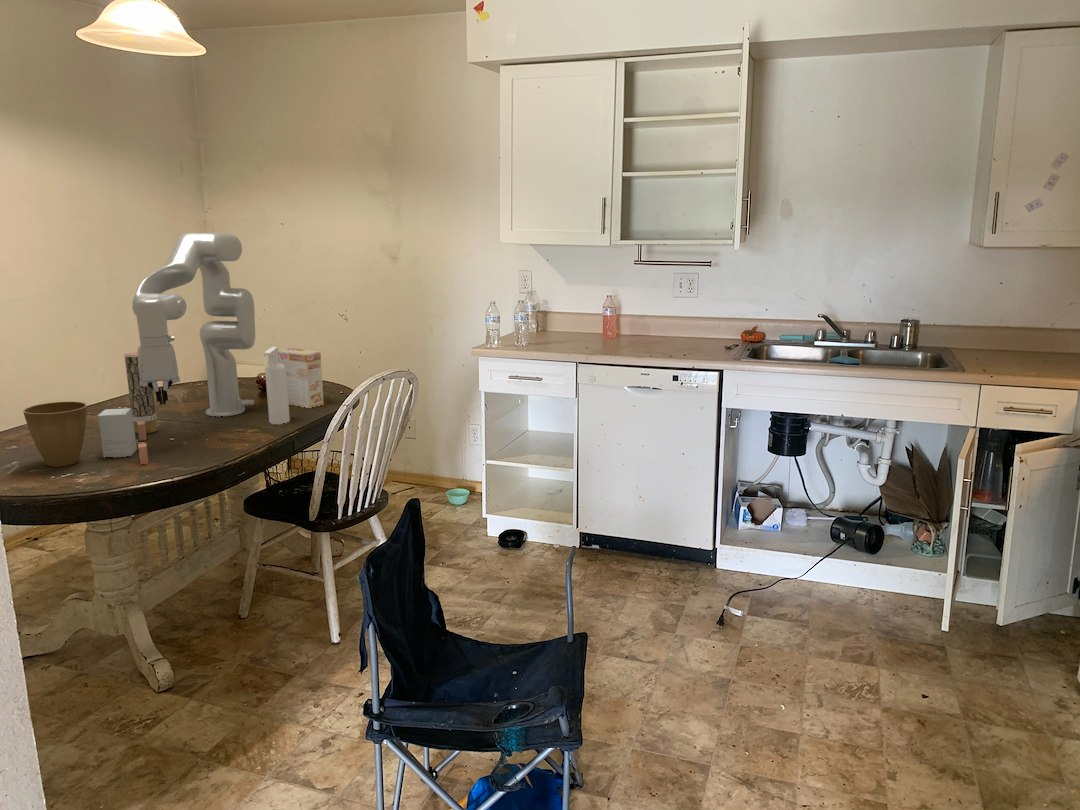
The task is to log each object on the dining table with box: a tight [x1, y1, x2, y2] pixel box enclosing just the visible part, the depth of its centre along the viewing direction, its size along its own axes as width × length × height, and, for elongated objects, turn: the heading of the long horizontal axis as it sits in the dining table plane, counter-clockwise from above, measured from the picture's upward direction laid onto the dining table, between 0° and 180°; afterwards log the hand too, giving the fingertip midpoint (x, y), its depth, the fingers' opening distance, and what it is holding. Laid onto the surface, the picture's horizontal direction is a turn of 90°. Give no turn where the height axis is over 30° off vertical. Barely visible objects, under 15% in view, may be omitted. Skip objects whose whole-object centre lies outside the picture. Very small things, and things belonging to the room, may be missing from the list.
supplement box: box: [96, 407, 138, 459], centre depth 229 cm, size 7×7×13 cm
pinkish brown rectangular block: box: [137, 421, 149, 466], centre depth 233 cm, size 2×30×5 cm, turn 27°
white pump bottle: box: [263, 346, 291, 425], centre depth 263 cm, size 7×12×25 cm, turn 175°
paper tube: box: [124, 351, 159, 435], centre depth 250 cm, size 7×7×25 cm
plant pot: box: [22, 401, 88, 468], centre depth 220 cm, size 15×15×16 cm
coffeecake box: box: [277, 347, 325, 409], centre depth 286 cm, size 15×7×20 cm, turn 58°
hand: (162, 403), depth 234 cm, fingers closed
